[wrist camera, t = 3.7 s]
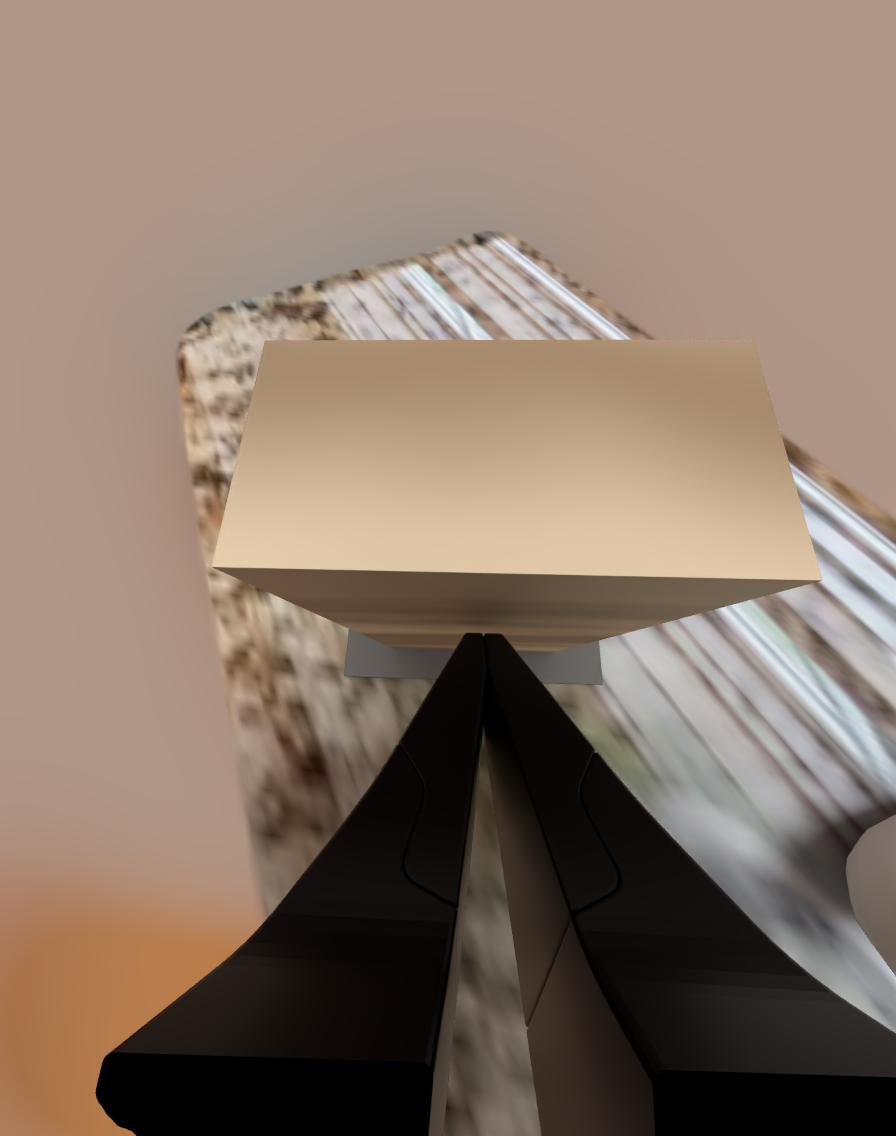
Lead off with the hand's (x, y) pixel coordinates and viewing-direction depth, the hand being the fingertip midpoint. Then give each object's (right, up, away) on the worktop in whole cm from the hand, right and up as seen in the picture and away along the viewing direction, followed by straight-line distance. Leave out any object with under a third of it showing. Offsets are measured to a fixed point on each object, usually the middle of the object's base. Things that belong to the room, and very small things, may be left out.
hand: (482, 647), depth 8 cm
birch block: (0, 0, +8) cm, 8 cm away
